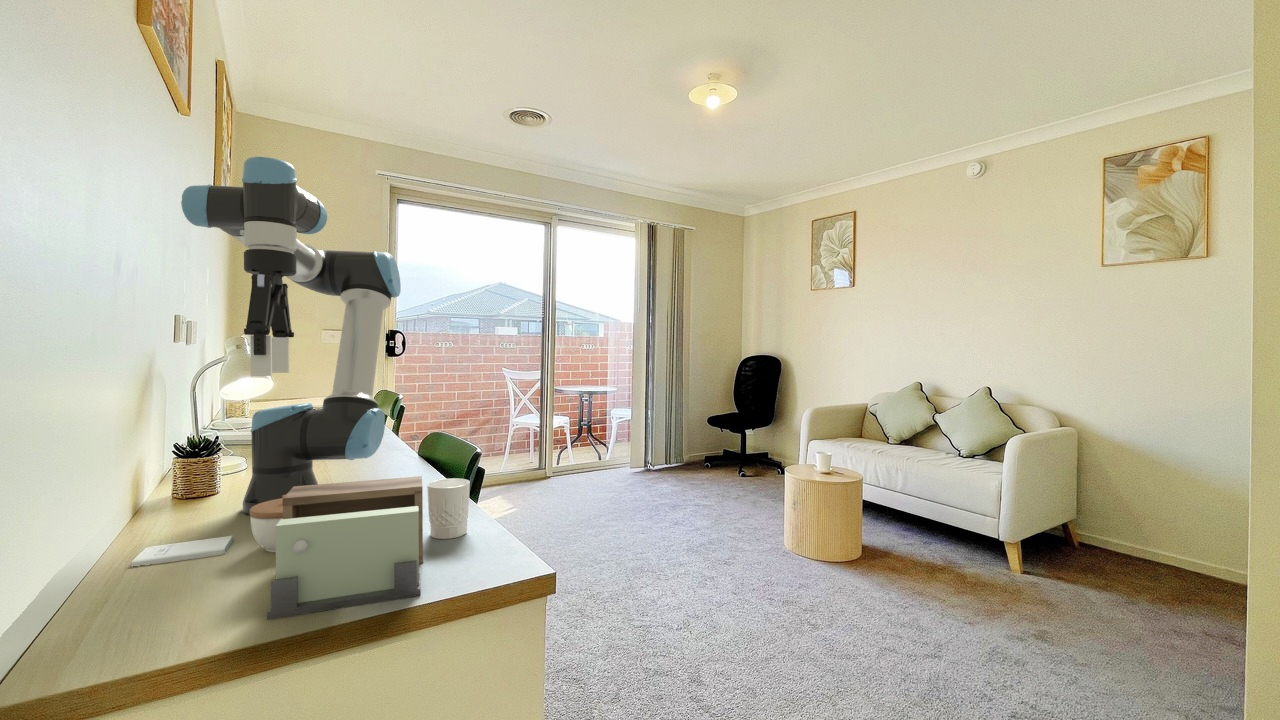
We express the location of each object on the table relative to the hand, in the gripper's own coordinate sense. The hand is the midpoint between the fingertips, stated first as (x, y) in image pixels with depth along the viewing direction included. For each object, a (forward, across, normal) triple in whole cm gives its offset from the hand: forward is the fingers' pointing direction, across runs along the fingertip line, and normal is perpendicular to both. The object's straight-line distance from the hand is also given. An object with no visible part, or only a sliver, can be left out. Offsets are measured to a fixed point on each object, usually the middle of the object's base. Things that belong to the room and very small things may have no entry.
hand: (271, 374), depth 94 cm
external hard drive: (+32, -8, -15) cm, 37 cm away
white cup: (+32, -1, +29) cm, 43 cm away
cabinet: (+32, +9, +14) cm, 36 cm away
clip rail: (+32, +23, +14) cm, 42 cm away
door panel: (+31, +23, +14) cm, 41 cm away
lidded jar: (+32, -5, +1) cm, 32 cm away
